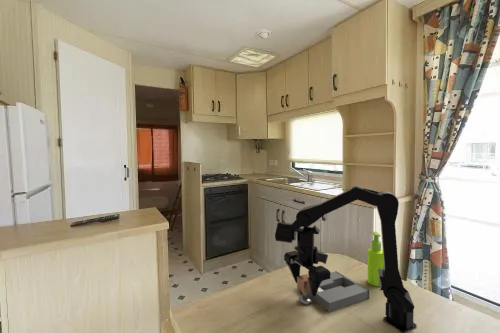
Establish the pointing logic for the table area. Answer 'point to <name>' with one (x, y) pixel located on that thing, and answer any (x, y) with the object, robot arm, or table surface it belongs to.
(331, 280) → the keyhole plate
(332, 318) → the table surface
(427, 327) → the table surface
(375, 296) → the table surface
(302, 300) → the key peg
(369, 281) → the soap dispenser
